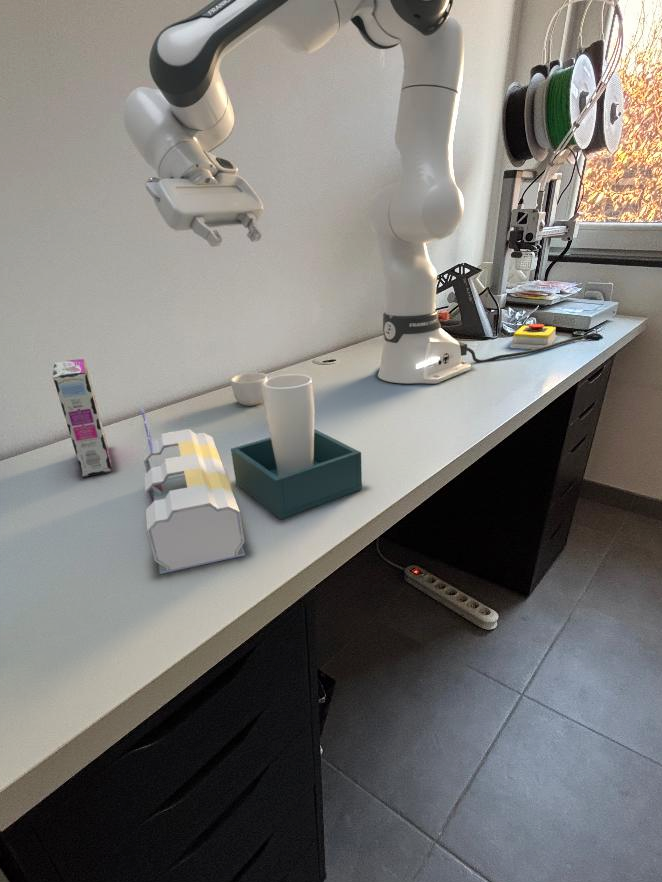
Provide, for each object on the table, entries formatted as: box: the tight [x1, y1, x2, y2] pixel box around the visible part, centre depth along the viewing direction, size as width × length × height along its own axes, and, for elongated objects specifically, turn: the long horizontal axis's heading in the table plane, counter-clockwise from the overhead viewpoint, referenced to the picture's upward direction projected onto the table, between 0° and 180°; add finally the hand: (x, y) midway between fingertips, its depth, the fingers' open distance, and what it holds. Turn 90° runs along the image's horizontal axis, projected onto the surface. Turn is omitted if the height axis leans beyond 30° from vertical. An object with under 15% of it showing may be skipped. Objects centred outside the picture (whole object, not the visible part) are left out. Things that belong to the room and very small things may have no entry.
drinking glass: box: [263, 373, 316, 477], centre depth 74 cm, size 7×7×15 cm
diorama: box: [140, 407, 246, 575], centre depth 69 cm, size 25×10×13 cm, turn 17°
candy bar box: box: [52, 358, 113, 478], centre depth 86 cm, size 11×5×16 cm, turn 23°
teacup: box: [230, 372, 269, 407], centre depth 113 cm, size 10×8×5 cm
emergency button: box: [509, 323, 557, 350], centre depth 144 cm, size 9×4×15 cm
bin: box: [230, 428, 363, 521], centre depth 77 cm, size 14×14×6 cm
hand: (238, 241), depth 90 cm, fingers open, 8 cm apart
